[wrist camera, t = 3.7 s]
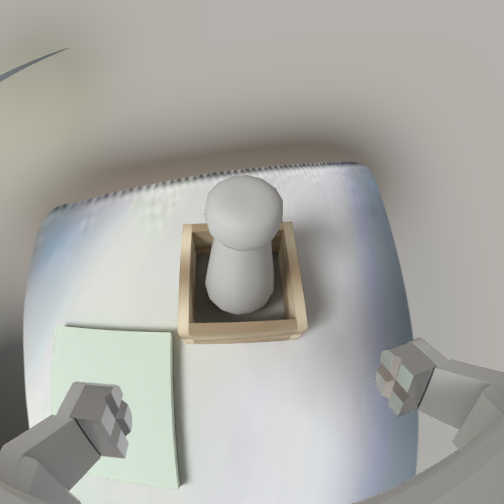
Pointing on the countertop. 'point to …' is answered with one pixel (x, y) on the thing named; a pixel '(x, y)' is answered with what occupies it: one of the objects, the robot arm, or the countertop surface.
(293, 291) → the wooden box
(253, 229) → the salt shaker
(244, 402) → the countertop surface
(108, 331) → the sage mat
